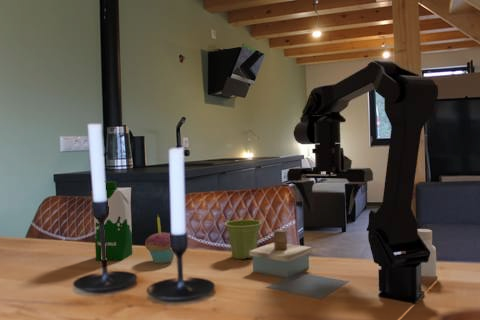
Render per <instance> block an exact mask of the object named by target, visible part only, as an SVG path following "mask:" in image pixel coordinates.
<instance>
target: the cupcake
mask: <svg viewBox="0 0 480 320" xmlns="http://www.w3.org/2000/svg"><path fill="white" fill-rule="evenodd" d="M156 221H157V233H153V234H151V235H149V236H148V237H147V238H146V240H145V243H144V244H145V245H144V247H145V249H146V250H147V251H148V252H149V254H150V256H151V259H152V261H153V263H154V264H155V263H156V264H168V263H171V262H173V261H174V256H175V253H174V254H173V252H172V251H171V249H170V234H171V233H170V232H167V231H166V232H164V231H163V232H162V228H161V219H160V217H159V215H157V218H156Z"/></svg>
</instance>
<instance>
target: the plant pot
mask: <svg viewBox="0 0 480 320" xmlns="http://www.w3.org/2000/svg"><path fill="white" fill-rule="evenodd" d="M261 225H262V221H261V220H256V219H236V220H229V221H225V223H224V226H225V227H226V231H227V232H228V238H229V244H230V250H231V255H232V257H233V258H234V259H236V260H237V259H238V260H239V259H240V260H245V259H253V256H250V255H249V251H251V250H253V249H256V248H258V241H259V232H260V228H261Z"/></svg>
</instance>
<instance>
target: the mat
mask: <svg viewBox="0 0 480 320" xmlns="http://www.w3.org/2000/svg"><path fill="white" fill-rule="evenodd" d="M348 283H350V280H349V281H348V280H343V279H339V278H333V277H325V276H321V275H317V274H316V275H315V274H311V273H310V274H309V273H303V272H299V273H297V274H295V275H293V276H291V277H289V278H285V277H283V278H282V279H279V280H277V281H276V282H274V283H272V284H270V285H267V286H265V288H266V289H271V290H275V291H281V292H285V293H289V294H293V295H299V296H303V297H307V298H311V299H318V300H323V299H324V298H326V297H328V296H329V295H331V294H332V293H334V292H335V291H337V290H338V289H340V288H342V287H343V286H345V285H346V284H348Z"/></svg>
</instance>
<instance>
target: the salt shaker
mask: <svg viewBox="0 0 480 320" xmlns="http://www.w3.org/2000/svg"><path fill="white" fill-rule="evenodd" d="M418 235H419V236H420V238H421V239H422V241H423V242H424V244H425V245H426V246H427V248H428V249H429V251H430V257H429V260H428V262H426V263H425V262H423V263H421V277H425V278H426V277H429V278H433V277H434V278H436V277H437V249H436V247H435V245H433V230H431V229H428V228H418Z"/></svg>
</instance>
